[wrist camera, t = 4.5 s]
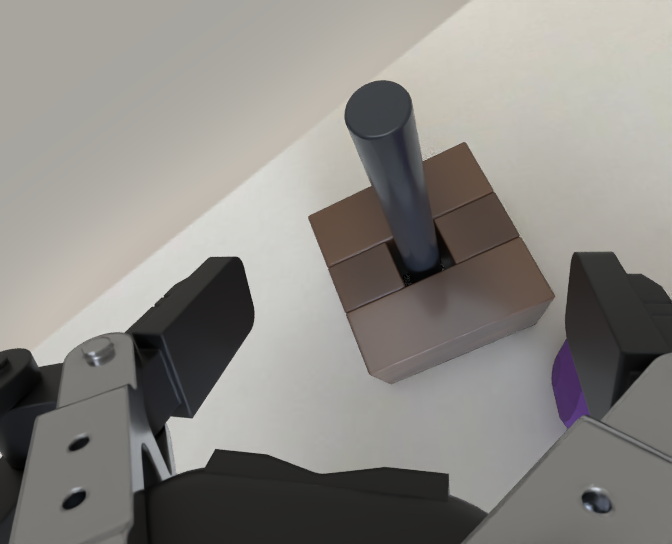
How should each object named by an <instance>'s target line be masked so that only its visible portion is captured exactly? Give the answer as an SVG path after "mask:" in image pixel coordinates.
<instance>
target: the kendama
mask: <svg viewBox="0 0 672 544" xmlns="http://www.w3.org/2000/svg"><path fill="white" fill-rule="evenodd" d="M552 386H553V391H554V395H555V399H556V404H557V408H558V412H559V416H560V419H561V420H562V421H563V423H564V424H565V425H566V427H567V428H568V429H569V428H570V427H571V426H572V424H573V423H574V422H575V421H576V420H577V419H579V418H580V417H581V416H583V415H590V414H589V411H588V407H587V404H586V401H585V398H584V394H583V391H582V388H581V384H580V381H579V378H578V374H577V371H576V368H575V365H574V361H573V358H572V355H571V351H570V348H569V345H568V341H567V339H566V340H565V342H564V344H563V346H562V347H561V349H560V351H559V353H558V355H557V356H556V358H555V361H554V364H553V370H552Z"/></svg>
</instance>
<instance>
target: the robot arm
mask: <svg viewBox="0 0 672 544" xmlns="http://www.w3.org/2000/svg"><path fill="white" fill-rule="evenodd" d="M154 305H155V306H154V307H151V308H150V309H149V310H148V311H147V312H146V313H145V314H144V315H143V316H142V317H141V318H140V319H139V320H138V321H137V322H135V323H134V324H133V325H132V326H131V327H130V328H129V329H128V330H127V331H126V332H125V333H121V332H115V333H108V334H103V335H100V336H97V337H94V338H92V339H89V340H87V341H85V342H83V343H82V344H80V345H78V346H77V347H76V348H74V349H73V350H72V351H71V352H70V353H69V354H68V355H67V356H66V358H65V359H64V362H63V363H59V364H53V365H48V366H42V367H38V365H37V363H36V362H35V360H34V358H33V356H32V354H31V352H30V351H29V350H27V349H21V348H17V349H10V350H5V351H2V352H0V452H1V454H2V455H3V456H2V457H1V458H0V544H672V301H671V299H670V298H669V296H668V295H667V293H666V292H665V291H664V289H663V288H662V286H660V285H659V284H657V283H655V282H654V281H652V280H650V279H649V278H647V277H646V276H644V275H642V274H626V272H625V270H624V269H623V267H622V265H621V264H620V262H619V260H618V259H617V257H616V255H615V254H614V252H574V253H573V256H572V259H571V266H570V276H569V285H568V294H567V304H566V314H565V328H566V337H567V341H568V345H569V348H570V351H571V355H572V358H573V361H574V365H575V368H576V371H577V374H578V378H579V381H580V384H581V388H582V391H583V394H584V398H585V401H586V404H587V407H588V411H589V414H590V415H583V416H581V417H580V418H579V419H577V420H576V421H575V422H574V423H573V424H572V426H571V427H570V428H569V429H568V430H567V431H566V432H565V433H564V434H563V435H562V436H561V437H560V438H559V439H558V440H557V442H556V443H555V444H554V445H553V446H552V447H551V448H550V449H549V450H548V451H547V452H546V453H545V454H544V455H543V456H542V458H541V459H540V460H539V461H538V462H537V463H536V464H535V465H534V466H533V467H532V468H531V469H530V470H529V471H528V473H527V474H526V475H525V476H524V477H523V478H522V479H521V480H520V481H519V482H518V483H517V484H516V485H515V486H514V487H513V489H512V490H511V491H510V492H509V493H508V494H507V495H506V496H505V497H504V498H503V499H502V500H501V501H500V502H499V503H498V505H497V506H496V507H495V508H494V509H493V510H492V511H491V512H490V513H489V514H488V513H486V512H484V511H483V510H481V509H480V508H478V507H476V506H474V505H472V504H470V503H468V502H466V501H464V500H462V499H459V498H457V497H454V496H451V495H449V474H446V473H436V472H427V471H417V470H408V469H399V468H389V467H382V468H373V469H364V470H355V471H346V472H337V473H328V474H319V473H315V472H312V471H309V470H307V469H304V468H301V467H299V466H296V465H293V464H291V463H288V462H285V461H283V460H280V459H277V458H275V457H272V456H270V455H267V454H257V453H248V452H238V451H229V450H219V449H215V451H214V453H213V454H212V456H211V458H210V460H209V461H208V463H207V465H206V467H205V468H199V469H195V470H190V471H186V472H183V473H180V474H177V473H176V467H175V460H174V454H173V448H172V441H171V435H170V431H169V428H168V426H167V423H166V422H167V421H168V419H169V418H170V416H173V417H184V418H193V417H194V415H195V414H196V412H197V411H198V409H199V408H200V406H201V405H202V403H203V402H204V400H205V399H206V397H207V396H208V394H209V393H210V391H211V390H212V388H213V387H214V385H215V384H216V382H217V381H218V379H219V378H220V376H221V375H222V373H223V372H224V370H225V369H226V367H227V366H228V364H229V363H230V361H231V360H232V358H233V357H234V355H235V354H236V352H237V351H238V349H239V348H240V346H241V345H242V343H243V342H244V340H245V339H246V337H247V336H248V334H249V333H250V331H251V329H252V327H253V323H254V315H255V314H254V306H253V302H252V298H251V294H250V290H249V286H248V282H247V278H246V274H245V269H244V266H243V263H242V261H241V259H240V258H238V257H210V258H208V259H207V260H206V261H205V262H204V263H203V264H202V265H201V266H200V267H199V268H198V269H197V270H196V271H194V272H193V273H192V274H191V275H190V276H189V277H188V278H186V279H184V280H182V281H181V282H179V283H177V284H175V285H174V286H173V287H172V288H171V289H170V290H169V291H168V292H167V293H166V294H165V295H164V298H161V299H160V300H159V301H158V302H156V303H155V304H154Z"/></svg>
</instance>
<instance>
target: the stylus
mask: <svg viewBox="0 0 672 544" xmlns="http://www.w3.org/2000/svg"><path fill="white" fill-rule="evenodd" d="M345 122H346V125H347V128H348V130H349V132H350V135H351V137H352V140H353V142H354V144H355V147H356V149H357V152H358V154H359V157H360V159H361V161H362V164H363V166H364V169H365V171H366V173H367V176H368V178H369V181H370V183H371V185H372V188H373V190H374V193H375V195H376V197H377V200H378V202H379V205H380V207H381V209H382V212H383V214H384V217H385V219H386V221H387V224H388V226H389V229H390V231H391V233H392V236H393V238H394V241H395V243H396V246H397V248H398V250H399V253H400V255H401V258H402V260H403V262H404V265H405V267H406V270H407V272H408V274H409V277H410V279H411V282H412V284H414V283H416V282H418V281H420V280H423V279H425V278H427V277H429V276H432V275H434V274H436V273H439V272H441V271H442V267H441V262H440V256H439V250H438V245H437V239H436V234H435V228H434V222H433V217H432V211H431V206H430V200H429V194H428V189H427V183H426V178H425V172H424V166H423V161H422V155H421V150H420V144H419V138H418V133H417V127H416V122H415V116H414V110H413V105H412V100H411V97H410V95H409V93H408V92H407V91H406V90H405V89H404V88H403V87H402V86H401V85H399V84H397V83H395V82H392V81H386V80H381V81H374V82H371V83H368V84H366V85H364V86H362V87H361V88H359V89H358V90H357V91H356V92H355V93H354V94H353V95H352V96H351V97H350V99H349V101H348V103H347V105H346V109H345Z"/></svg>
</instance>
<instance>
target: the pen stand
mask: <svg viewBox="0 0 672 544" xmlns="http://www.w3.org/2000/svg"><path fill="white" fill-rule="evenodd" d="M423 166H424V172H425V178H426V183H427V189H428V194H429V200H430V206H431V211H432V217H433V222H434V228H435V234H436V239H437V245H438V250H439V256H440V259H441V262H442V264H443V266H444V268H445V270H443V271H441V272H439V273H436V274H434V275H432V276H429V277H427V278H425V279H423V280H420V281H418V282H416V283H414V284H411V285H409V286H407V287H406V285H405V282H404V280H403V278H402V276H404V275H406V274H408V272H407V270H406V267H405V265H404V262H403V260H402V258H401V255H400V253H399V250H398V248H397V246H396V243H395V241H394V238H393V236H392V233H391V231H390V229H389V226H388V224H387V221H386V219H385V217H384V214H383V212H382V209H381V207H380V205H379V202H378V200H377V197H376V195H375V193H374V190H373V188H372V186H371V187H368V188H366V189H364V190H362V191H360V192H358V193H356V194H354V195H352V196H350V197H347V198H345V199H343V200H341V201H339V202H337V203H335V204H333V205H331V206H329V207H327V208H324V209H322V210H320V211H318V212H316V213H314V214H312V215H310V216H308V219H309V221H310V224H311V227H312V229H313V232H314V234H315V237H316V239H317V242H318V244H319V247H320V250H321V252H322V255H323V257H324V260H325V262H326V265H327V267H328V270H329V273H330V275H331V278H332V280H333V283H334V285H335V288H336V291H337V293H338V296H339V298H340V301H341V303H342V306H343V308H344V311H345V313H347V314H346V316H347V319H348V321H349V324H350V326H351V329H352V331H353V334H354V337H355V339H356V342H357V344H358V347H359V349H360V352H361V354H362V357H363V359H364V362H365V365H366V367H367V370H368V372H369V374H370V375H372V376H374V377H376V378H378V379H380V380H383V381H385V382H387V383H389V384H393V383H395V382H398V381H400V380H403V379H405V378H407V377H410V376H412V375H415V374H417V373H419V372H422V371H424V370H427V369H429V368H431V367H434V366H436V365H439V364H441V363H443V362H446V361H448V360H451V359H453V358H455V357H458V356H460V355H463V354H465V353H467V352H470V351H472V350H475V349H477V348H479V347H482V346H484V345H487V344H489V343H492V342H494V341H496V340H499V339H501V338H504V337H506V336H508V335H511V334H513V333H516V332H518V331H520V330H523V329H525V328H528V327H530V326H532V325H535V324H536V323H537V322H538V320H539V319H540V317H541V316H542V314H543V313H544V312H545V310H546V309H547V307H548V306H549V305H550V303H551V302H552V300H553V299H554V297H555V295H554V293H553V292H552V290H551V288H550V287H549V285H548V283H547V281H546V280H545V278H544V276H543V274H542V273H541V271H540V269H539V268H538V266H537V264H536V262H535V261H534V259H533V257H532V255H531V254H530V252H529V250H528V249H527V247H526V245H525V243H524V242H523V240H522V238H521V237H519V236H520V235H519V233H518V231H517V230H516V228H515V226H514V224H513V223H512V221H511V219H510V218H509V216H508V214H507V212H506V211H505V209H504V207H503V205H502V204H501V202H500V200H499V199H498V197H497V195H496V193H494V191H493V189H492V187H491V185H490V183H489V182H488V180H487V178H486V176H485V175H484V173H483V171H482V170H481V168H480V166H479V164H478V163H477V161H476V159H475V158H474V156H473V154H472V152H471V151H470V149H469V147H468V145H467V144H466V143H465V142H463V143H461V144H459V145H457V146H455V147H452V148H450V149H448V150H446V151H444V152H442V153H440V154H438V155H436V156H434V157H431V158H429V159H427V160H425V161H423Z"/></svg>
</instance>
